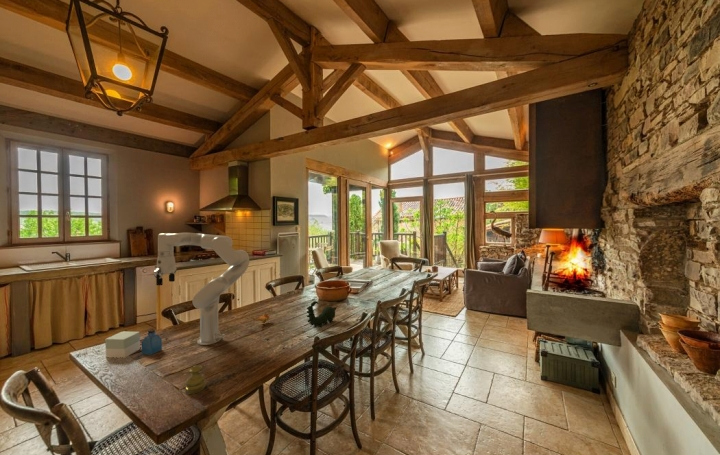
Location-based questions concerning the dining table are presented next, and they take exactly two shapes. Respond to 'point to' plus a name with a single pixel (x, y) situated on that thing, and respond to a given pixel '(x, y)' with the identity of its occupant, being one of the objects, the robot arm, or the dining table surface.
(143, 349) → the perfume bottle
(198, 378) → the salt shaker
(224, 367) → the dining table surface
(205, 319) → the robot arm
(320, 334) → the dining table surface
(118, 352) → the bottom block
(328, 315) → the toy figurine
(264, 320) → the magic lamp
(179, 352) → the dining table surface
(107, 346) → the top block
